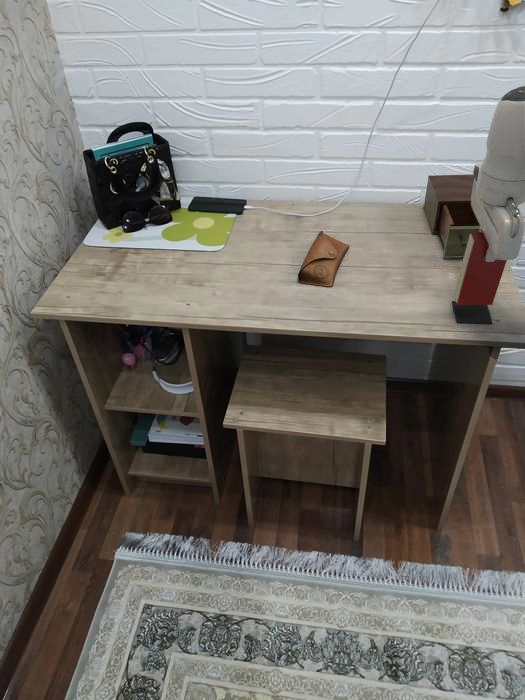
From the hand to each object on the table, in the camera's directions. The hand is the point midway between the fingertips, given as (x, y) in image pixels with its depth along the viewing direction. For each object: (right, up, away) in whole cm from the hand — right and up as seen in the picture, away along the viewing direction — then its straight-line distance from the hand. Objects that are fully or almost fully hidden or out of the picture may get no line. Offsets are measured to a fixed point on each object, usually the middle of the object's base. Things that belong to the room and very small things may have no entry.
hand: (486, 253), depth 109 cm
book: (0, -8, +8) cm, 11 cm away
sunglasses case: (-28, +2, +26) cm, 38 cm away
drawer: (+5, +6, +27) cm, 28 cm away
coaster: (+1, -11, +10) cm, 15 cm away
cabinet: (+6, +15, +37) cm, 41 cm away
